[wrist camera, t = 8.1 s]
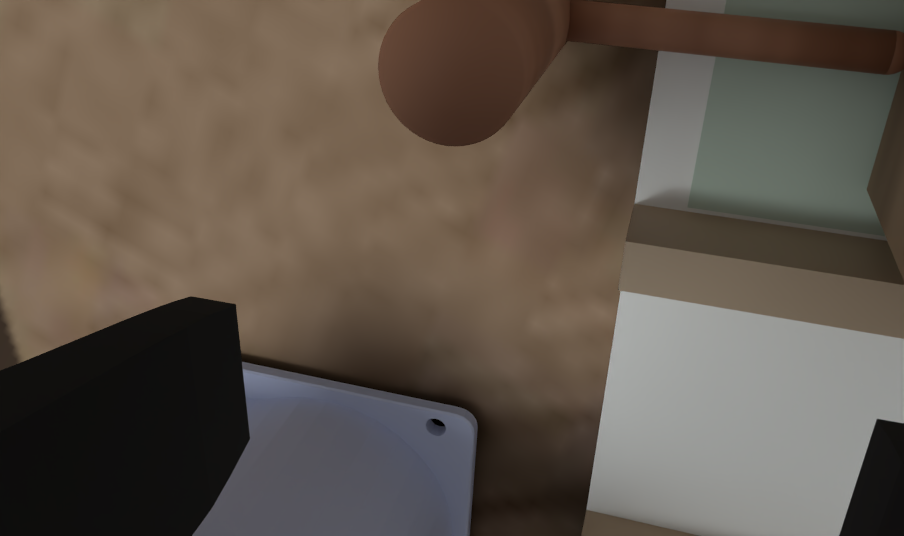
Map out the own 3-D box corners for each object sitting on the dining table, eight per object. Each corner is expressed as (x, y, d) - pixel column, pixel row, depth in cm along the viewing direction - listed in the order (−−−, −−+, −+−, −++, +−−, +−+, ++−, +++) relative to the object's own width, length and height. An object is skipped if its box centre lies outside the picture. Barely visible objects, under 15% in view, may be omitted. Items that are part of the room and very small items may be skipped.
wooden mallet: (462, 134, 17) (377, 231, 13) (476, -146, 15) (380, -138, 10) (1259, 242, 14) (1486, 415, 10) (1439, -90, 12) (1836, -45, 7)
